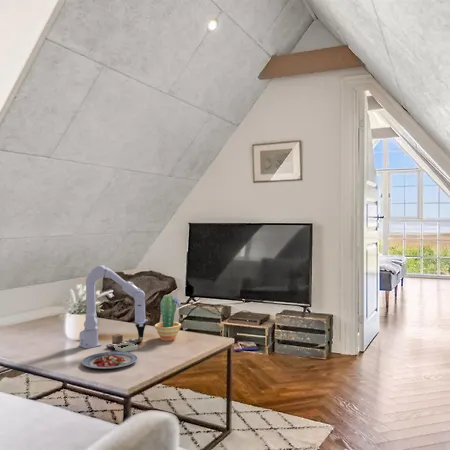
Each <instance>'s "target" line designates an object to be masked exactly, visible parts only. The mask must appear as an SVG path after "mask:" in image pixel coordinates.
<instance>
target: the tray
mask: <svg viewBox="0 0 450 450" xmlns="http://www.w3.org/2000/svg"><path fill="white" fill-rule="evenodd" d="M121 345H128V346H126V347H123V348H121V347H118V346H121ZM113 347H114V348H115V350H114V351H115V352H127V353H131V352H133V351H139V345H138V344H136V345H135V344H133V343H130V342H128V341H126V342H123V343H122V344H117V345H113V346H112V348H113Z"/></svg>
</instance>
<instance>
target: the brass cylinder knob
mask: <svg viewBox="0 0 450 450" xmlns="http://www.w3.org/2000/svg"><path fill="white" fill-rule="evenodd" d="M143 337H144V336H143ZM143 337H139V335H138V334H137V339H134V338H129V339H128V341H129V342H135V341H136V342H143V340H144V338H143Z"/></svg>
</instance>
